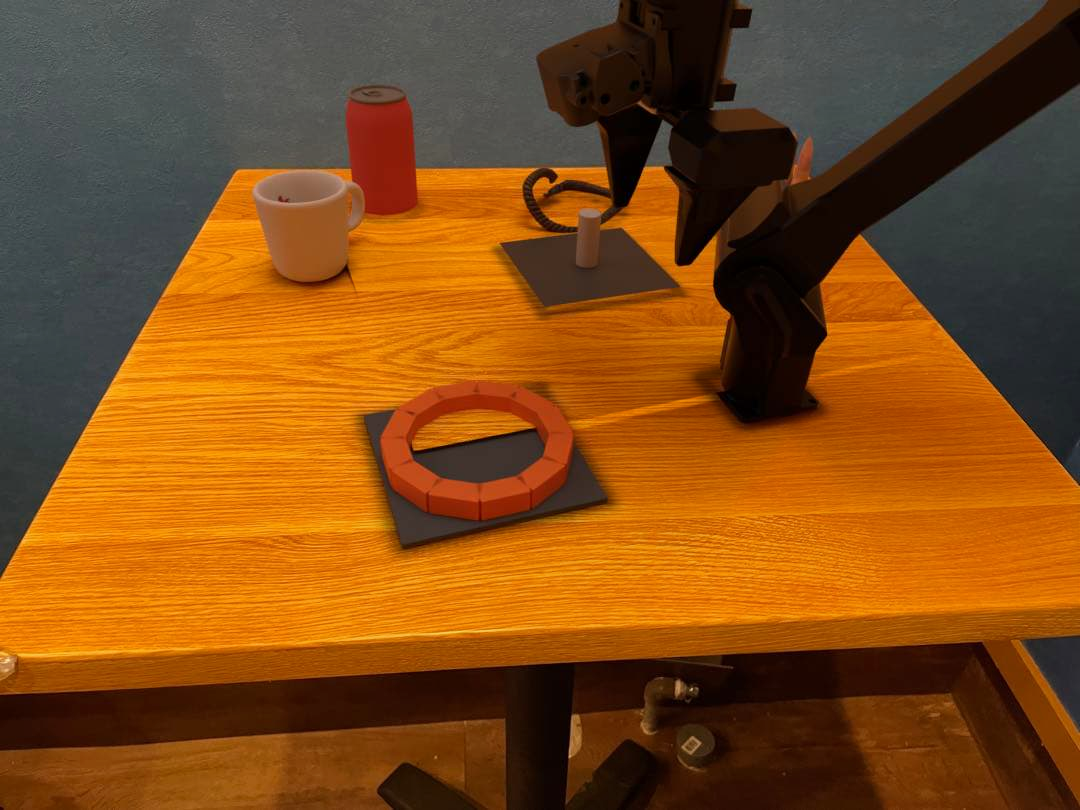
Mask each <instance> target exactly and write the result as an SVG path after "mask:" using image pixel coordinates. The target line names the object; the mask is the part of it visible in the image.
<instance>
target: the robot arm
mask: <svg viewBox="0 0 1080 810" xmlns="http://www.w3.org/2000/svg"><path fill="white" fill-rule="evenodd" d="M618 2H619V3H618V8H617V9H618V10H617V11H618V12H617V17H616V20H615V22H613V23H609V24H607V25H604V26H601V27H596V28H591V29H590V30H586V31H584V32H583V33H580V34H578V35H575V36H573V37H570V38H568V39H566V40H564V41H561V42H559V43H557V44H553V45H552V46H549V47H547V48H545V49H543V50H541V51H540V52H538V54H536V56H535V60H536V64H537V68H538V72H539V75H540V80H541V84H542V87H543V91H544V96H545V98H546V103H547V106H548V109H549V110H550V111H551V112H552V113H553V112H555V113H556V114H557V115H559V116H560V117H561V118H562V119H563V120H564V122H565V124H566V125H568V127H569V126H570V127H572V128H581V127H582V128H583V127H586V126H590V125H592V124H594V123H595V124H596V126H597V128H598V131H599V136H600V140H601V146H602V150H603V157H604V162H605V163H604V164H605V168H606V169H605V170H606V176H607V183H608V187H609V188H608V189H610V194H611V206H612V205H613V206H614V207H615V208H622V209H623V208H627V207H628V206H629V204H630V202H631V201H632V198H633V196H634V194H635V192H636V189H637V187H638V185H639V182H640V179H641V177H642V174H643V172H644V169H645V166H646V164H647V162H648V158H649V156H650V155H651V154H650V153H651V151H652V148H653V146H654V143H655V141H656V138H657V136H658V133H659V131H660V128H661V125H662V123H663V122H664V123H666V124H667V125H669V126H670V127H671V129H670V133H669V139H668V145H667V149H668V153H669V159H670V163H671V164H670V165H663V171H664V172H665V173H666V174H667V176H668V177H669V178H670V180H671V181H672V182H673V183H674V185H675V186H676V188H677V189H678V201H677V202H678V203H677V212H676V213H677V214H676V223H675V224H676V225H675V236H674V264H675V265H676V266H677V267H687V266H691V265H692V264H693V263H694V262H695V261H696V260H697V258H698V257H699V255H701V253H702V252H703V250H704V249H705V248H706V247H707V246H708V245H709V243H710V242H711V241H712V240H713V238H714V237H715V236H716V240H715V241H716V242H715V249H714V251H715V252H714V265H713V275H712V276H713V277H712V278H713V279H712V288H713V293H714V296H715V298H716V300H717V302H718V303H719V304H720V306H721V308H722V309H723V310H725V311H726V312H727V313H728V314H730V315H729V319H727V323H726V328H725V333H724V339H723V345H722V348H721V354H720V359H719V364H720V365H719V366H720V367H719V369H720V370H721V371H722V373H721V378H720V383H721V386H722V388H723V390H722V391H716V392H714V394H715V395H716V396H717V397H718V399H720V401H721V402H722V403H723V404H724V405H725V406H726V407H727V408H728V409H729V411H730V412H731V413H732V414H733V415H734V416H735V417H736V419H737V420H738V421H740V423H743V424H746V425H748V424H753V423H757V422H762V421H768V420H772V419H773V420H774V419H777V418H782V417H787V416H791V415H796V414H800V413H806V412H810V411H816V410H818V408H819V404H820V402H819V400H818V399H817V398H816V396H814V395H813V394H812V393H811V391H809V390H808V389H807V385H808V381H809V378H810V374H811V372H812V367H813V363H814V360H815V357H816V353H817V350H818V349H819V348H820V347H821V345H822V344H823V342H824V341H825V340H826V338H827V337H828V328H827V322H826V315H825V308H824V301H823V296H822V287H821V283H822V282H823V281H824V280H825V279H826V278H827V276H828V275H829V274H830V272H831V271H832V270H833V268H834V267H835V266H836V265H837V263H838V262H839V260H840V259H841V258H842V256H843V255H844V254H845V252H846V251H847V250H848V249H849V247H850V246H851V244H853V242H854V240H856V239H857V238H858V237H859V236H860V235H861V234H862V233H864V232H865V231H867V230H869V229H870V228H871V227H873V226H875V225H876V224H877V223H879V222H880V221H882V220H884V219H885V218H886V217H888V216H889V215H890V214H892V213H893V212H895V211H897V210H898V209H899V208H901V207H902V206H904V205H905V204H906V203H908V202H910V201H911V200H913V199H914V198H916V197H917V196H918V195H920V194H922V192H924V191H926V190H927V189H929V188H931V187H932V186H934V185H935V184H936V183H938V182H939V181H940V180H942V179H943V178H945V177H946V176H948V175H950V174H951V173H952V172H954V171H955V170H956V169H959V167H961V166H963V165H965V164H966V163H967V162H968V161H970V160H971V159H973V158H975V157H977V155H979V154H980V153H982V152H983V151H985V150H986V149H987V148H989V147H991V146H992V145H994V144H995V143H996V142H998V141H1000V140H1001V139H1003V138H1005V136H1007V135H1009V134H1010V133H1011V132H1013V131H1014V130H1016V129H1017V128H1019V127H1020V126H1022V125H1023V124H1025V123H1026V122H1028V121H1029V120H1031V119H1032V118H1033V117H1035V116H1036V115H1038V114H1039V113H1041V112H1042V111H1044V110H1045V109H1046V108H1048V107H1049V106H1051V105H1053V104H1054V103H1056V102H1057V101H1059V100H1060V99H1061V98H1063V97H1064V96H1066V95H1067V94H1068V93H1070V92H1071V91H1073V90H1075V89H1076V88H1077V87H1079V86H1080V0H1047V1H1045V3H1044V4H1043V5H1042V6H1041V8H1040V9H1039V10H1038V11H1037V12H1036V13H1034V15H1033V16H1032V17H1031V18H1029V19H1028V20H1026V21H1025V22H1024V23H1023V24H1021V25H1020V26H1018V27H1017V28H1016V29H1014V30H1013V31H1012V32H1011V33H1009V34H1008V35H1007V36H1005V37H1003V38H1002V39H1001V40H1000V41H999V42H997V43H995V44H994V45H993V46H992V47H990V48H989V49H988V50H986V51H985V52H984V53H982V54H980V56H978V57H977V58H975V59H973V61H972V62H970V63H969V64H968V65H966V66H965V67H964V68H962V69H960V70H959V71H958V72H957V73H955V74H954V75H952V77H950V78H949V79H947V80H946V81H944V82H943V83H942V84H941V85H939V86H937V88H935V89H933V91H931V92H930V93H929V94H927V95H926V96H925V97H923V98H922V99H921V100H919V101H918V102H917V103H915V104H913V105H912V106H911V107H910V108H909V109H907V110H906V111H905V112H903V113H902V114H900V115H899V116H897V117H896V118H895V119H894V120H892V121H891V122H889V123H888V124H887V125H886V126H885V127H883V128H881V129H880V130H879V131H878V132H876V133H875V134H874V135H872V136H871V137H869V138H868V139H867V140H865V141H864V142H863V143H861V144H860V145H859V146H858V147H856V148H855V149H853V150H852V151H851V152H849V153H848V154H847V155H845V156H844V157H843V158H841V159H840V160H839V161H837V162H836V163H835V164H833V165H832V166H830V167H828V169H827V170H825V171H824V172H822V173H820V174H818V175H816V176H815V177H812V178H809V179H808V180H805V181H802V182H799V183H796V184H792V185H789V186H787V184H786V182H785V180H787V179H788V178H789V176H790V173H791V169H792V165H793V161H794V158H795V154H796V155H797V151H796V150H798V147H799V142H798V139H797V140H796V138H795V137H794V135H793V131H792V130H791V128H790V126H787V125H786V124H784V123H782V122H780V121H779V120H777V119H775V118H773V117H771V116H770V115H768V114H766V113H765V112H763V111H761V110H759V109H758V108H756V107H747V108H746V107H745V108H743V107H742V108H727V109H713V108H714V106H715V103H722V102H723V103H724V102H734V100H735V95H736V91H737V86H738V84H737V83H736V82H734V81H732V80H731V79H729V78H727V77H725V72H726V67H727V61H728V57H729V52H730V47H731V41H732V36H733V33H734V32H733V31H734V29H749V28H750V24H751V20H752V19H751V18H752V16H753V15H752V14H753V8H751V7H749V6H746V5H744V4H741V3H739V2H740V0H619V1H618ZM795 159H796V158H795ZM757 187H758V188H757ZM756 188H757V189H756ZM755 189H756V190H755ZM754 190H755V191H754ZM753 191H754V192H753ZM752 192H753V193H752ZM751 193H752V194H751ZM716 234H717V235H716Z"/></svg>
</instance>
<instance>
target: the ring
mask: <svg viewBox="0 0 1080 810" xmlns="http://www.w3.org/2000/svg"><path fill="white" fill-rule="evenodd" d="M395 409H396V410H395ZM395 409H394V410H395V412H394V414H393V415H392V417H391V419H390V421H389V423H388V424H387V426H386V428H385V430H384V432H383V434H382V435H381V440H380V442H381V452H382V458H383V462H384V465H385V468H386V472H387V475H388V478H389V481H390V485H391V487H393V490H395V491H396V492H397V493H399V494H400V495H402V496H403V497H405V498H406V499H408V500H409V501H411V502H412V503H414V504H415V505H416V506H418V507H419V508H421V509H422V510H424V511H425V512H428V511H429V512H430V513H431V514H437V515H443V516H450V517H456V518H463V519H469V520H476V521H479V519H480V518H481V520H482V521H484V520H488V519H493V518H497V517H501V516H506V515H510V514H515V513H519V512H524V511H528V510H530V508H532V509H533V508H535V507H536V506H537V505H538V504H540V503H541V502H542V501H543V500H545V499H546V498H547V497H549V496H550V495H551V494H552V493H554V492H555V491H556V490H557V489H559V488H560V487H561V486H562V485H564V482H566V479H567V474H568V470H569V466H570V462H571V458H572V454H573V443H575V441H574V440H575V434H574V431H573V429H572V427H571V425H570V424H569V422H568V421H567V419H566V418H565V416H564V414H563V412H562V411H561V409H560V408H559V406H558V405H556V404H555V403H554V402H552V401H550V400H549V399H546V398H545V397H542V396H541V395H539V394H537V393H536V392H533V391H531V390H529V389H527V388H525V387H524V386H522V387H521V386H520V385H516V384H510V383H509V384H508V383H500V382H495V381H494V382H493V381H486V380H479V379H478V380H477V381H476V380H469V381H462V382H457V383H451V384H445V385H440V386H433V387H432V388H429V389H427V390H426V391H424V392H422V393H420V394H418V395H417V396H415V397H413V398H411V399H409V400H408V401H406V402H405V403H403V404H402V405H400V406H398V407H397V408H395ZM397 409H398V410H397ZM472 409H484V410H492V411H497V412H503V413H505V412H506V413H511V414H513V415H515V416H516V417H518V418H520V419H522V420H524V421H525V422H527V423H529V424H531V425H533V426H534V427H533V428H534V429H535V430H537V432H538V433H539V435H540V437H541V439H542V441H543V442H544V444H545V446H546V448H545V451H544V455H543V457H542V458H541V459H540V460H538V461H537V462H535V463H534V464H533V465H531V466H530V467H529V468H527V469H526V470H525V471H523V472H522V473H521V474H519V475H518V476H515V477H510V478H505V479H500V480H496V481H491V482H486V483H481V484H476V483H470V482H463V481H456V480H450V479H443V478H440V477H438V476H437V475H435V474H434V473H432V472H431V471H429V470H428V469H426V468H424V467H423V466H421V465H420V464H418V463H417V462H415V461H414V460H413V457H412V455H411V452H410V448H411V446H412V447H413V445H412V442H413V441H414V438H415V437H416V434H417V433H418V431H419V430H420V429H422V428H423V427H425V426H427V425H428V424H430V423H432V422H433V421H434V420H436V419H438V418H440V417H441V416H443V415H445V414H451V413H455V412H461V411H467V410H472Z"/></svg>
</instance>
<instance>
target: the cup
mask: <svg viewBox="0 0 1080 810" xmlns="http://www.w3.org/2000/svg"><path fill="white" fill-rule="evenodd" d="M251 194H252V198H253V202H254V205H255V209H256V212H257V215H258V218H259V223H260V226H261V229H262V232H263V236H264V239H265V242H266V245H267V249H268V252H269V256H270V258H271V261H272V264H273V266H274V268H275V269H276V271H277V272H278V273H279V274H280V275H281V276H282V277H284V278H286V279H289V280H290V281H294V282H295V281H296V282H303V283H315V282H320V281H324V280H328V279H330V278H333V277H335V276H337V275H338V274H340V273H341V272H342V271H343V270H344V269H345V267H346V265H347V263H348V261H349V247H350V245H349V233H351V232H353V231H354V230H356V229H357V228H358V227H360V225H361V224H362V222H363V219H364V216H365V212H364V211H365V200H364V194H363V191H362V189H361V188H360V187H359V185H357V184H356V183H353V182H352V181H350V180H345V179H344V178H343V177H341V176H340V175H337V174H335V173H332V172H329V171H325V170H324V171H323V170H313V169H299V170H297V169H296V170H289V171H283V172H278V173H275V174H272V175H268V176H266V177H264V178H262V179H260V180H259V181H258V182H256V184H255V185H254V186H253V188H252V193H251ZM349 194H350V197H351V210H350V215H349Z"/></svg>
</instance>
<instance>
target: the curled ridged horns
mask: <svg viewBox="0 0 1080 810" xmlns="http://www.w3.org/2000/svg"><path fill="white" fill-rule="evenodd" d="M543 178H546V179H548V183H549V184H554V183H555V182H556V180H557V179H558V178H559V175H558V174H557V172H556V171H554V170H553V168H550V167H540V168H537V169H535V170H534V171H532V172H531V173H530V174H529V175H528V176H526V178H525V180H524V181H523V183H522V187H521V189H522V198H523V200H524V203H525V206H526V209H528V212H529V214H531V217H532V218H533V219H534V220H535V222H536V223H538V225H539V226H541V227H542V228H543V229H546V230H547V231H548V232H551V233H557V234H574V233H578V225H577V226H573V225H572V226H571V225H570V226H569V225H565V224H562V223H557V222H555V221H553V220H552V219H550V218H549V217H548V216H546V214H545V213H544V212H543V211H542V210H541V207H540V206H539V203H538V202H537V200H536V198H535V194H534V189H533V188H534V186H535V185H536V183H537V182H538V181H539V180H540V179H543ZM569 189H571V190H575V191H580V192H583V193H588V194H593V195H598V196H601V197H605V198H608V199H611V194H610V188H608V187H604V186H601V185H598V184H594V183H592V182H591V183H590V182H587V181H583V180H579V179H572V178H571V179H564V181H561V182H559V183H556V184H554V185H553V186H551V187H550V188H549V189H548V190H547V193H546V192H544V193H543V194H542V196H543V198H544V199H548V198H550V197H552V196H555V195H557V194H559V193H562V192H563V191H567V190H569ZM622 210H623V208H615V207H614V206H613V205H612V204H611V205H610V207H608V208H607V209H606V210H605V211H603V213H601V223H600V226H602V225H604V224H605V223H606V222H608V221H609V220H611V219H612V218H613V217H615V216H616V215H617V214H619V213H620V212H621V211H622Z"/></svg>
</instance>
